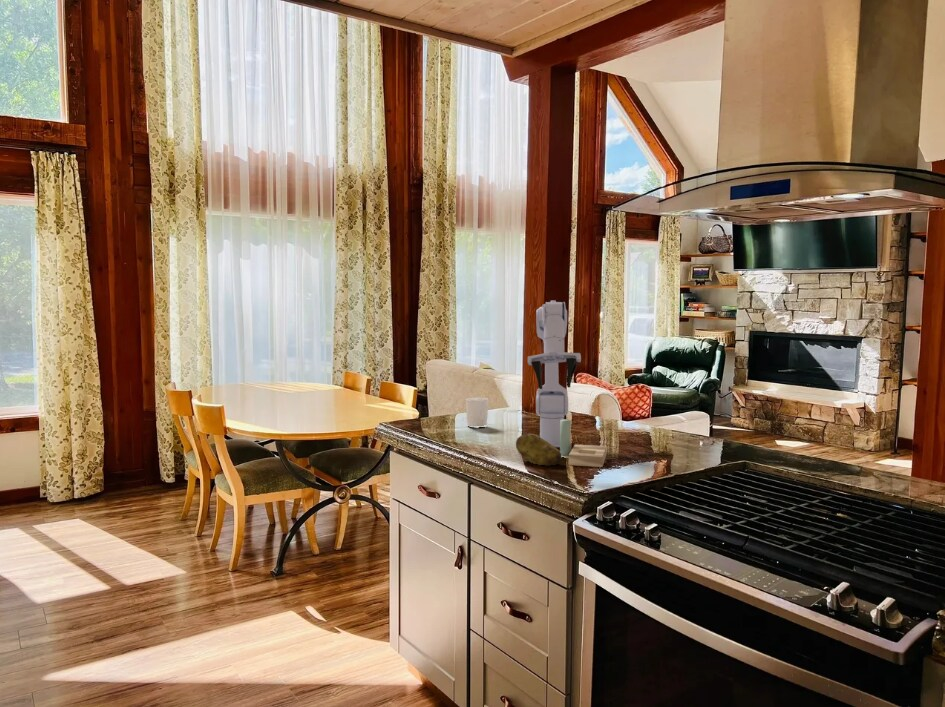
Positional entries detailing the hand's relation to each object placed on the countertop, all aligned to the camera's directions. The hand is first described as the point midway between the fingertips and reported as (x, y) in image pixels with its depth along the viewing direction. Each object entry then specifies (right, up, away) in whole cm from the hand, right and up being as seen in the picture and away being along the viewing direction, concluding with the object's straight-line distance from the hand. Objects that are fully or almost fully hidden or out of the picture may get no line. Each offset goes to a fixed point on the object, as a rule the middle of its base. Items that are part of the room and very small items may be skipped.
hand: (554, 387), depth 193 cm
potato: (-4, -21, +1) cm, 22 cm away
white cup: (-21, -17, +57) cm, 63 cm away
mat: (+4, -20, +11) cm, 24 cm away
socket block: (+10, -21, +4) cm, 23 cm away
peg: (+4, -20, +11) cm, 23 cm away
